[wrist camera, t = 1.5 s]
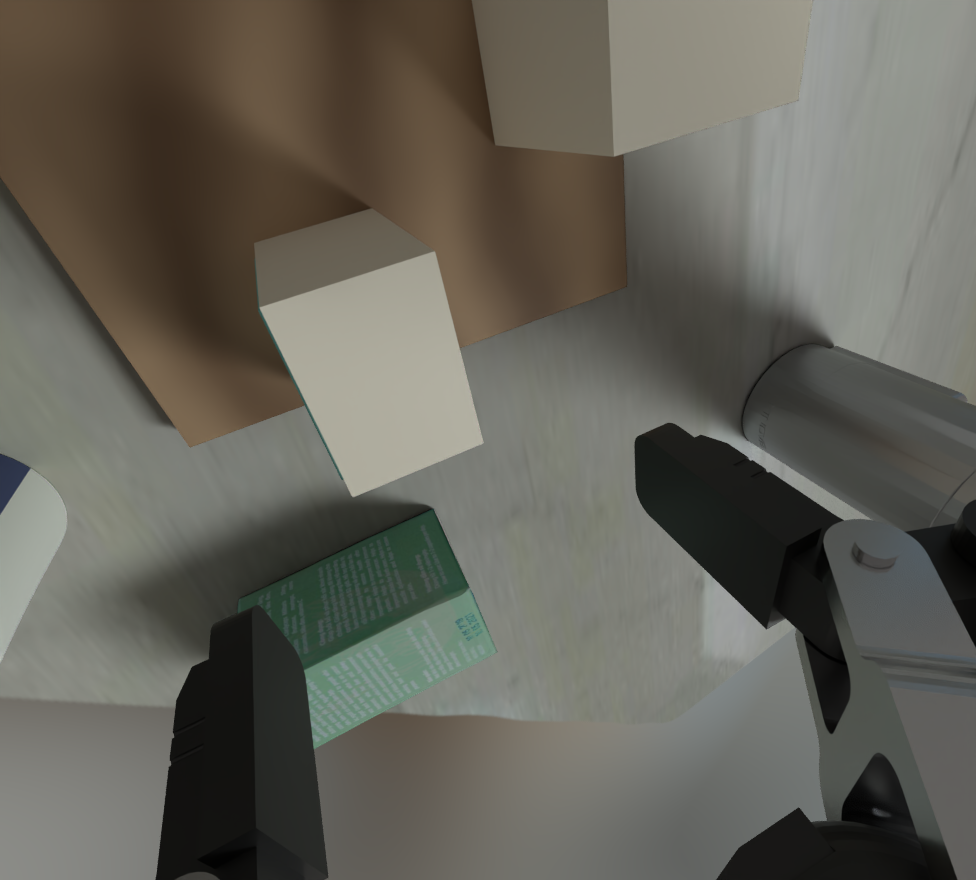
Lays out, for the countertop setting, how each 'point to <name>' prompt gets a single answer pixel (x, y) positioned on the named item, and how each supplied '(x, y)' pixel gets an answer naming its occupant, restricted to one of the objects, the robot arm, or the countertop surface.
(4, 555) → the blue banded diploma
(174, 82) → the board
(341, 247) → the carton
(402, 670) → the box
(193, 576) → the countertop surface
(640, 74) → the faced carton
